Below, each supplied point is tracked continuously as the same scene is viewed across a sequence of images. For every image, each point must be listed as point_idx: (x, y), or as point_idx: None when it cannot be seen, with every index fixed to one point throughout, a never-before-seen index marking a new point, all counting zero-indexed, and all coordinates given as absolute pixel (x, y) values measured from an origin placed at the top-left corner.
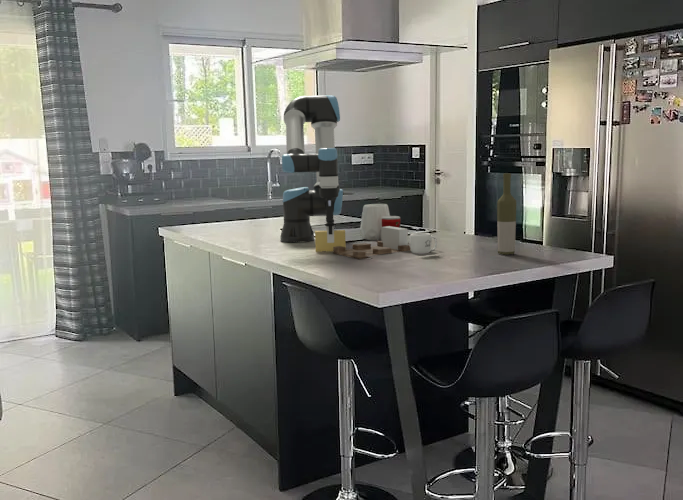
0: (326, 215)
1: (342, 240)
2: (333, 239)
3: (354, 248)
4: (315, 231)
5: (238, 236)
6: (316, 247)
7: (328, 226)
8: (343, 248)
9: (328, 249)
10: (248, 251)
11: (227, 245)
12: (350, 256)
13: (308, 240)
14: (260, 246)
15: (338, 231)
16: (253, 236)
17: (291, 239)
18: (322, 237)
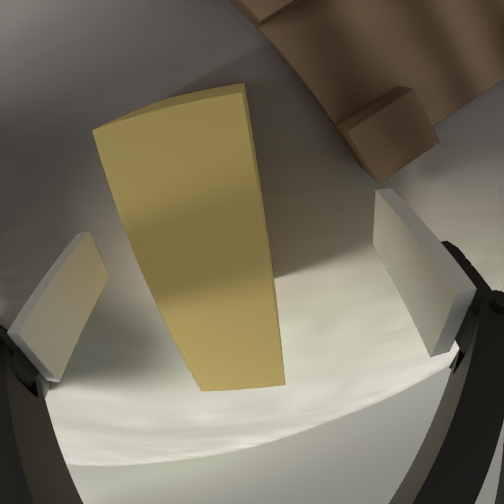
0: (63, 460)
1: (248, 117)
2: (403, 206)
3: (283, 10)
4: (244, 387)
5: None
6: (275, 292)
7: (455, 336)
8: (416, 102)
9: (264, 213)
10: (244, 438)
11: (150, 456)
12: (501, 75)
13: (1, 331)
14: (145, 427)
15: (257, 193)
16: None
17: (42, 380)
18: (276, 308)
